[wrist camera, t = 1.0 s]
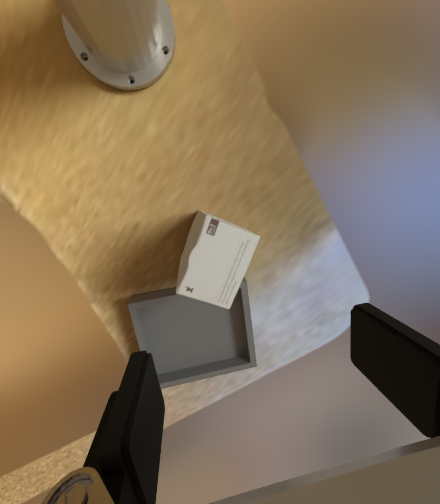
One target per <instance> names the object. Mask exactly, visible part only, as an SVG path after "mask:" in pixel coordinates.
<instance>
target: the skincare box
mask: <svg viewBox="0 0 440 504" xmlns="http://www.w3.org/2000/svg"><path fill="white" fill-rule="evenodd" d="M259 239H260V236H258V235H256V234H254V233H252V232H250V231H248V230H245V229H243V228H241V227H239V226H236V225H234V224H232V223H230V222H227V221H225V220H223V219H220V218H218V217H215V216H213V215H210V214H208V213H205V212H202V211H198V212H197V214H196V216H195V219H194V221H193V223H192V226H191V229H190V231H189V234H188V237H187V240H186V243H185V247H184V250H183V253H182V255H181V258H180V265H179V272H178V279H177V286H176V294H179V295H182V296H186V297H189V298H192V299H196V300H199V301H203V302H206V303H210V304H213V305H217V306H220V307H223V308H226V309H230V307H231V305H232V302H233V300H234V298H235V295H236V293H237V291H238V289H239V286H240V284H241V282H242V280H243V277H244V275H245V272H246V270H247V268H248V265H249V263H250V261H251V258H252V256H253V253H254V251H255V249H256V246H257V244H258V241H259Z"/></svg>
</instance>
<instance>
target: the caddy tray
mask: <svg viewBox="0 0 440 504" xmlns="http://www.w3.org/2000/svg"><path fill="white" fill-rule="evenodd" d="M127 306H128V309H129V313H130V316H131V320H132V324H133V327H134V331H135V334H136V338H137V342H138V345H139V349H140V351H144V350H146V351H147V353H151V354H152V357H153V361H154V365H155V369H156V372H157V376H158V380H159V384H160V388H161V389H163V388H167V387H171V386H176V385H180V384H184V383H188V382H193V381H197V380H201V379H205V378H210V377H214V376H218V375H222V374H227V373H231V372H235V371H239V370H244V369H248V368H252V367H257V364H256V356H255V347H254V339H253V330H252V322H251V314H250V305H249V297H248V289H247V281H246V279H245V278H244V277H243V280H242V282H241V284H240V286H239V289H238V291H237V293H236V295H235V298H234V300H233V302H232V305H231V307H230V309H226V308H223V307H220V306H217V305H213V304H210V303H206V302H203V301H199V300H196V299H192V298H189V297H186V296H182V295H179V294H176V287H173V288H168V289H163V290H157V291H152V292H147V293H141V294H136V295H132V296H131V298H130V300H129V301H128V303H127Z"/></svg>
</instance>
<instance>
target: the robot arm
mask: <svg viewBox="0 0 440 504" xmlns="http://www.w3.org/2000/svg"><path fill="white" fill-rule="evenodd" d="M54 2H55V3H56V5H57V6H58V8H59V9H60V11H61V18H62V24H63V29H64V33H65V35H66V38H67V41H68V43H69V45H70V47H71V49H72V51H73V53H74V54H75V56H76V57H77V59H78V60H79V61H80V63H81V64H82V65H83V66H84V67H85V68H86V70H87V71H88V72H89V73H90V74H92V75H93V76H94V77H95V78H96V79H98V80H99V81H101V82H103V83H104V84H106V85H108V86H111V87H114V88H116V89H121V90H139V89H142V88H146V87H148V86H150V85H152V84H154V83H155V82H156V81H157V80H158V79H160V78H161V77H162V75H163V74H164V73H165V71H166V70H167V68H168V66H169V64H170V62H171V59H172V56H173V52H174V44H175V31H174V23H173V17H172V13H171V10H170V7H169V4H168V2H167V0H54ZM165 52H166V53H168V54H164V53H165ZM86 59H88V60H87V61H85V60H86ZM131 81H134V83H133V84H131ZM351 360H352V362H353V364H354V365H355V366H356V367H357V368H358V369H359V370H360V371H361V372H362V373H363V374H364V375H365V376H366V377H367V378H368V379H369V380H370V381H371V382H372V383H373V384H374V385H375V386H376V387H377V388H378V390H379V391H380V392H382V394H383V395H385V397H386V398H387V399H388V400H389V401H390V402H391V403H393V405H395V407H396V408H398V410H399V411H401V413H402V414H403V415H404V416H405V417H406V418H407V419H408V420H409V421H410V422H411V423H413V425H414V426H415V427H416V428H417V429H418V430H419V431H420V432H421V433H422V434H423V435H425V436H426V437H430V439H427V440H424V441H420V442H417V443H413V444H409V445H406V446H402V447H399V448H395V449H392V450H388V451H385V452H382V453H378V454H374V455H371V456H368V457H364V458H360V459H357V460H353V461H350V462H346V463H343V464H340V465H336V466H333V467H329V468H326V469H322V470H319V471H316V472H312V473H309V474H306V475H302V476H298V477H295V478H292V479H289V480H285V481H282V482H278V483H275V484H272V485H269V486H265V487H262V488H258V489H255V490H252V491H248V492H245V493H241V494H238V495H235V496H232V497H228V498H225V499H222V500H219V501H216V502H212V503H209V504H440V345H439V344H438V343H436V342H434V341H432V340H431V339H429V338H427V337H425V336H424V335H422V334H420V333H419V332H417V331H415V330H414V329H412V328H410V327H408V326H407V325H405V324H403V323H402V322H400V321H398V320H397V319H395V318H393V317H391V316H389V315H388V314H386V313H385V312H383V311H381V310H380V309H378V308H376V307H374V306H372V305H371V304H369V303H363V304H358V305H355V306H354V307H353V309H352V310H351ZM164 413H165V405H164V399H163V396H162V392H161V388H160V384H159V380H158V376H157V372H156V369H155V365H154V361H153V357H152V354H151V353H147V351H146V350H144V351H139V352H134V353H132V354H131V356H130V359H129V362H128V365H127V367H126V370H125V373H124V376H123V379H122V382H121V385H120V387H119V390H118V391H114V392H113V393H112V394H111V396H110V398H109V400H108V403H107V405H106V408H105V411H104V413H103V416H102V418H101V421H100V424H99V426H98V429H97V432H96V434H95V437H94V439H93V442H92V445H91V447H90V450H89V452H88V455H87V458H86V460H85V463H84V466H83V468H79V469H76V470H74V471H72V472H70V473H69V474H68V475H66V476H65V477H63V478H62V479H61V480H60V481H59V482H58V483H57V484H56V485H55V486H54V487H53V488H52V489H51V491H50V492H49V493H48V495H47V496H46V498H45V499H44V501H43V502H42V504H155V503H156V493H157V482H158V472H159V463H160V453H161V442H162V433H163V423H164Z"/></svg>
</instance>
